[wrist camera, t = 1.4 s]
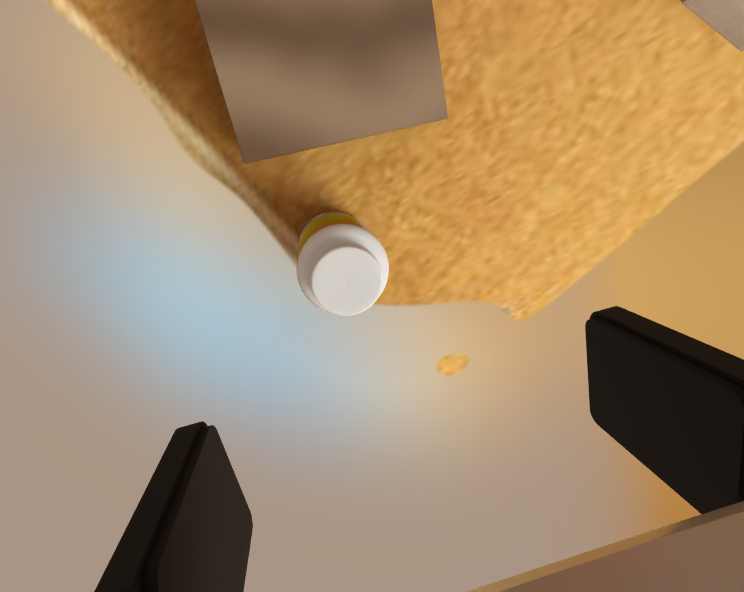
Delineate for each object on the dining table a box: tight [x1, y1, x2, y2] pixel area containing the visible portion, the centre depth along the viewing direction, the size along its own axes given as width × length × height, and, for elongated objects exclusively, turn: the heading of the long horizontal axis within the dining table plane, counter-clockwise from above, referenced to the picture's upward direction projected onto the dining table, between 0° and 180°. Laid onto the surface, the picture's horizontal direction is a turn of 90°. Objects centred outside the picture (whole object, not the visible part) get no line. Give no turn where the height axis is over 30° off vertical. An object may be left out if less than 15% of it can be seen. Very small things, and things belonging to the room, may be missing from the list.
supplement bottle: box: [297, 211, 389, 316], centre depth 27 cm, size 6×6×10 cm
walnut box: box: [195, 0, 448, 163], centre depth 24 cm, size 12×12×7 cm
